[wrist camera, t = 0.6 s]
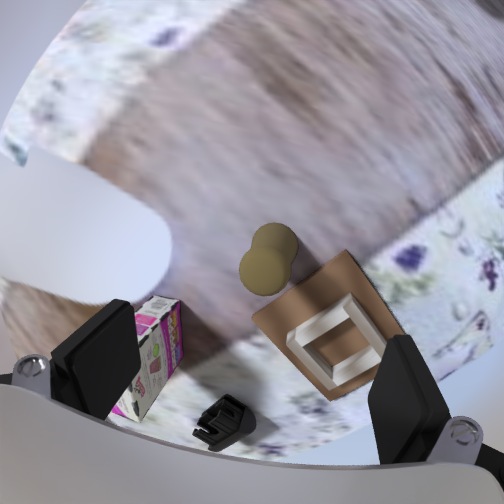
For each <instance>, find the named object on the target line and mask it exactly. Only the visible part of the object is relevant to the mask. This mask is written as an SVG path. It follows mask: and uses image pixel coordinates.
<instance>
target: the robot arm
mask: <svg viewBox="0 0 504 504" xmlns="http://www.w3.org/2000/svg"><path fill="white" fill-rule="evenodd" d="M51 356H52V359H51V360H50V361H49V360H48V359H47V358H46V357H45V356H43V355H39V354H32V355H27V356H25V357H22V358H21V359H20V360H18V361H17V362H16V364H15V366H14V368H13V373H10V374H3V375H0V504H504V453H502V452H499V451H498V450H495V449H493V448H491V447H489V446H487V445H485V444H483V443H482V441H483V431H482V428H481V427H480V425H479V424H478V423H477V422H476V421H474V420H473V419H471V418H469V417H465V416H457V417H453V418H452V417H451V415H450V413H449V408H448V406H447V404H446V402H445V400H444V398H443V396H442V394H441V392H440V390H439V388H438V386H437V384H436V382H435V380H434V378H433V376H432V374H431V372H430V370H429V368H428V366H427V365H426V363H425V361H424V359H423V357H422V355H421V353H420V352H419V350H418V348H417V346H416V344H415V343H414V341H413V339H412V337H411V336H410V335H401V334H395V335H394V336H393V338H389V339H388V341H387V344H386V347H385V350H384V353H383V356H382V359H381V362H380V365H379V368H378V370H377V373H376V376H375V378H374V381H373V384H372V386H371V389H370V391H369V394H368V405H369V410H370V414H371V419H372V424H373V429H374V434H375V438H376V443H377V449H378V454H379V460H380V465H347V466H346V465H341V466H340V465H338V466H336V465H306V464H292V463H280V462H271V461H262V460H254V459H247V458H241V457H235V456H229V455H223V454H218V453H213V452H208V451H203V450H199V449H194V448H190V447H186V446H182V445H178V444H174V443H170V442H167V441H163V440H160V439H156V438H153V437H149V436H146V435H143V434H140V433H137V432H134V431H131V430H128V429H125V428H122V427H119V426H117V425H114V424H111V423H109V422H106V421H104V420H105V419H106V417H107V416H108V414H109V413H110V412H111V410H112V409H113V407H114V406H115V404H116V403H117V402H118V400H119V399H120V397H121V396H122V395H123V393H124V392H125V390H126V389H127V388H128V386H129V385H130V383H131V382H132V381H133V379H134V378H135V376H136V375H137V374H138V372H139V371H140V369H141V357H140V350H139V344H138V337H137V329H136V321H135V313H134V308H133V306H131V305H130V303H129V302H128V301H124V300H119V299H114V300H112V301H111V302H110V303H109V304H107V305H106V306H105V307H104V308H102V309H101V310H100V311H99V312H98V313H96V314H95V315H94V316H93V317H92V318H90V319H89V320H88V321H87V322H86V323H84V324H83V325H82V326H81V327H80V328H79V329H77V330H76V331H75V332H74V333H73V334H71V335H70V336H69V337H68V338H67V339H66V340H65V341H63V342H62V343H61V344H60V345H59V346H58V347H56V348H55V349H54V350H53V351H52V352H51Z"/></svg>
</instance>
